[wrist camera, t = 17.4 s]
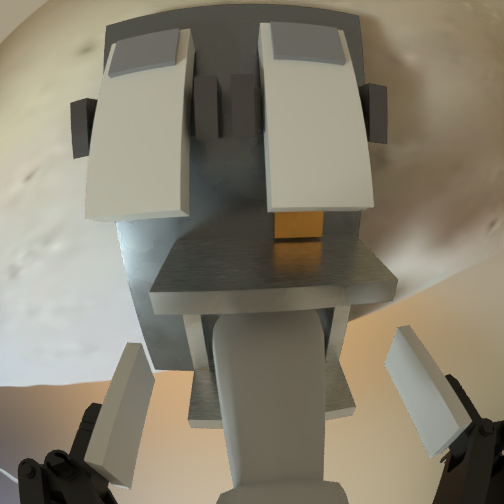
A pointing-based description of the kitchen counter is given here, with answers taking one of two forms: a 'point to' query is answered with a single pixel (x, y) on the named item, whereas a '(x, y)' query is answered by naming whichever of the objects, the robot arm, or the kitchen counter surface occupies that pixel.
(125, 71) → the rocker
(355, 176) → the rocker
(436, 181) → the kitchen counter surface
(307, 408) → the salt shaker
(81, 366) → the kitchen counter surface
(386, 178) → the kitchen counter surface
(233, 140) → the grey mechanical fixture
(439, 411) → the robot arm
